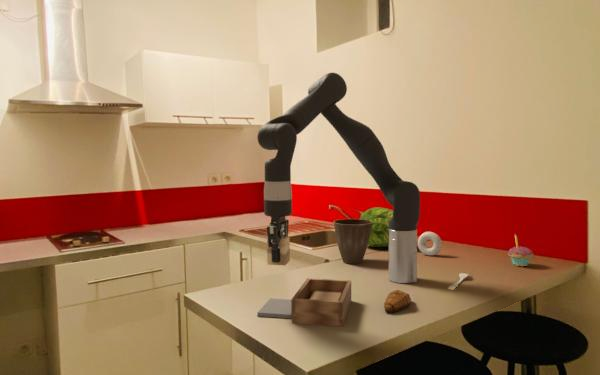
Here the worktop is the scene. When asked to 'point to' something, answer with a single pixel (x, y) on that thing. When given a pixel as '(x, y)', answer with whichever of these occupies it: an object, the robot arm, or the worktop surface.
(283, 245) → the maple block
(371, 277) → the worktop surface
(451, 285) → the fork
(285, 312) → the plate
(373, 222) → the lettuce
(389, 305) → the croissant
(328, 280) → the walnut crate
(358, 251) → the plant pot
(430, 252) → the donut
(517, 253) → the cupcake
